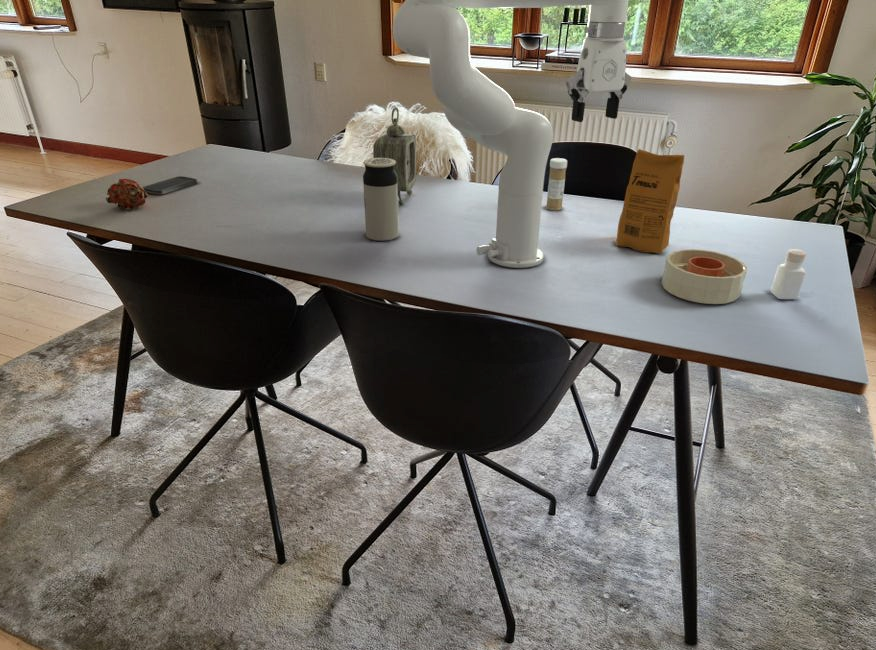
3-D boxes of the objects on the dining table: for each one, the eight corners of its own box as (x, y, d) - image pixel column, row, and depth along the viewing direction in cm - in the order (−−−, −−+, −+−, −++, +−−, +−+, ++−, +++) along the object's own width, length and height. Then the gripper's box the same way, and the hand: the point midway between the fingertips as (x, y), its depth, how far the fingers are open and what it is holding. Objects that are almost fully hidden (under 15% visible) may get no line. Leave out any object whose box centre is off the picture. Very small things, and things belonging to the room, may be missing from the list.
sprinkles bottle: (553, 205, 178) (558, 156, 171) (565, 209, 175) (571, 160, 168) (542, 208, 176) (546, 159, 169) (554, 212, 173) (559, 162, 166)
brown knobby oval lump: (147, 217, 167) (116, 218, 172) (161, 192, 171) (130, 193, 175) (123, 197, 160) (91, 197, 165) (137, 171, 163) (106, 172, 168)
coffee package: (623, 234, 158) (638, 144, 146) (673, 244, 152) (692, 151, 140) (609, 245, 151) (623, 151, 139) (660, 257, 145) (679, 160, 133)
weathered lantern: (406, 208, 173) (404, 112, 160) (374, 206, 174) (370, 111, 162) (416, 193, 186) (415, 103, 173) (386, 192, 187) (383, 102, 174)
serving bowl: (703, 312, 120) (710, 283, 117) (645, 283, 132) (651, 256, 128) (755, 296, 127) (763, 269, 124) (696, 270, 138) (702, 244, 135)
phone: (198, 179, 191) (159, 191, 179) (199, 183, 191) (160, 195, 180) (179, 175, 194) (139, 187, 182) (180, 179, 194) (140, 191, 182)
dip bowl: (702, 297, 125) (708, 271, 122) (675, 284, 130) (681, 260, 127) (725, 290, 128) (732, 265, 125) (699, 278, 133) (704, 254, 130)
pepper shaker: (787, 292, 129) (801, 248, 124) (797, 300, 126) (812, 255, 121) (768, 291, 129) (782, 248, 124) (778, 300, 125) (792, 255, 121)
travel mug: (403, 232, 156) (401, 158, 147) (392, 243, 150) (389, 166, 140) (373, 229, 158) (369, 156, 149) (361, 239, 151) (356, 163, 142)
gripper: (584, 34, 123) (574, 125, 132) (649, 32, 130) (635, 119, 139) (561, 31, 129) (552, 119, 137) (624, 30, 136) (612, 113, 145)
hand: (594, 119), depth 138 cm, fingers open, 9 cm apart
